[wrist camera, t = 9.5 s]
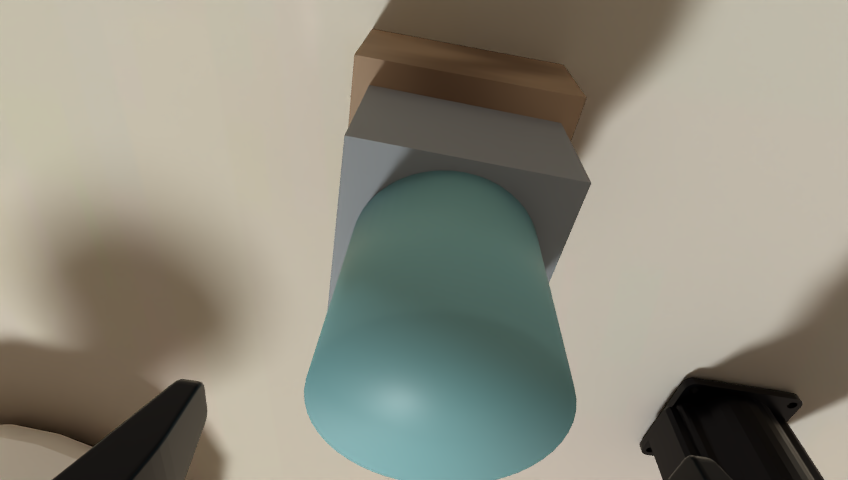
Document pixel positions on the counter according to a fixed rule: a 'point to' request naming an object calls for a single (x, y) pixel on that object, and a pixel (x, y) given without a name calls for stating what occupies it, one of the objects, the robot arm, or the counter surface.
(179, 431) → the robot arm
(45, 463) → the white vase
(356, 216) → the grey square block
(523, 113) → the walnut base block
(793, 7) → the counter surface
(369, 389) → the teal cylinder
